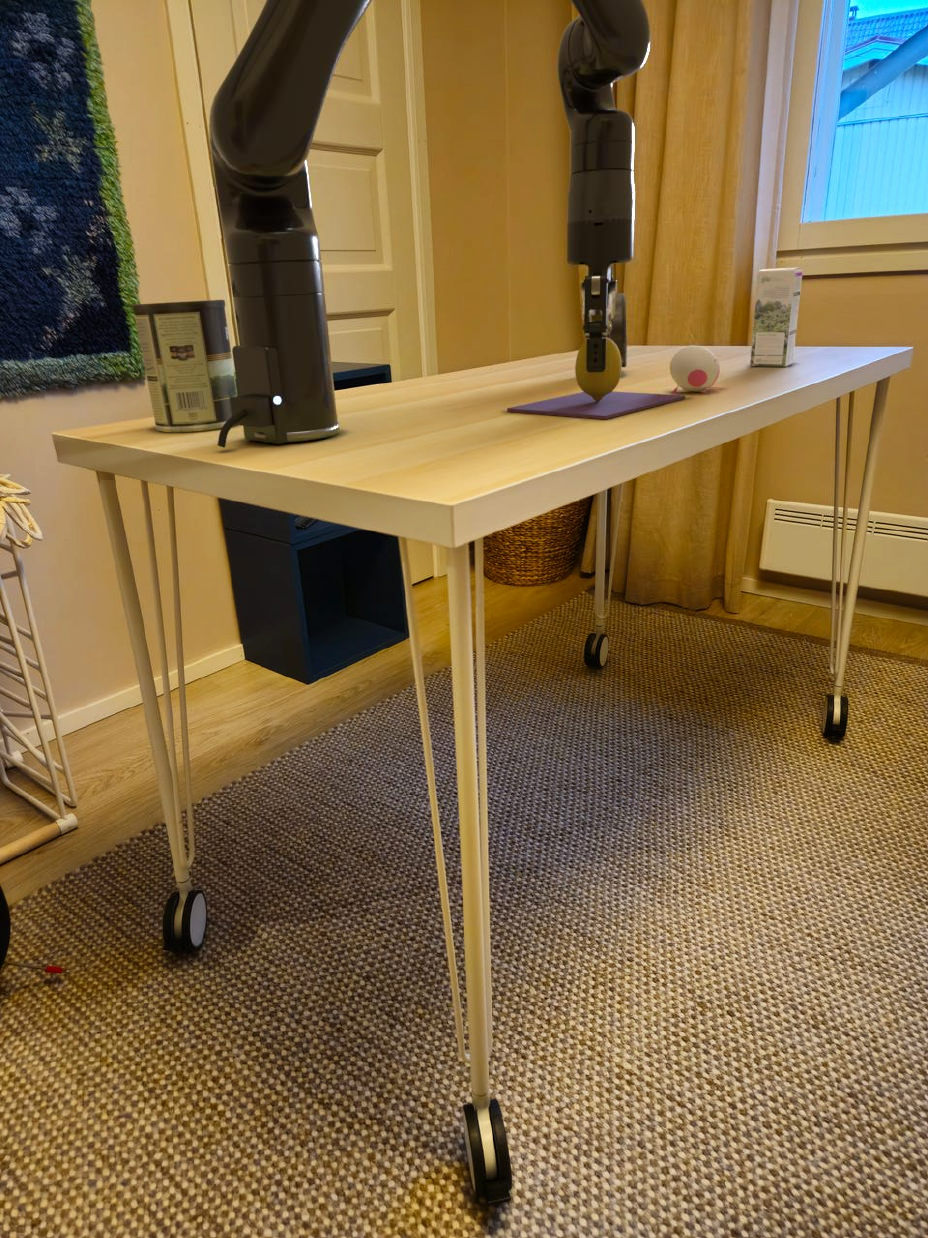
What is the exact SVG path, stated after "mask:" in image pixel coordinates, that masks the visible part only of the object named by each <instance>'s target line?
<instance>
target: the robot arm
mask: <svg viewBox="0 0 928 1238" xmlns="http://www.w3.org/2000/svg"><path fill="white" fill-rule="evenodd" d="M372 1H373V0H265V3H264V5H263V8H262V9H261V11H260V13H259V16H258V18H257V20H256V21H255V23H254V26H253V27H252V29H251V31H250V33H249V35H248V37H247V39H246V41H245V43H244V45H243V47H242V48H241V50H240V52H239V54H238V55H237V57H236V59H235V61H234V62H233V64H232V65H231V68H230V69H229V71H228V73H227V74H226V76H225V78H224V79H223V81H222V83H221V84H220V86H219V87H218V89H217V91H216V93H215V94H214V97H213V100H212V103H211V107H210V111H209V125H208V135H209V145H210V146H209V147H210V153H211V161H212V167H213V174H214V181H215V188H216V195H217V201H218V208H219V215H220V223H221V231H222V235H223V241H224V246H225V251H226V259H227V265H228V272H229V278H230V286H231V292H232V300H233V308H234V314H235V323H236V329H237V336H238V343H239V344H238V345H234V346H233V347H232V349H231V354H232V361H233V368H234V375H235V382H236V389H237V396H236V397H230V403H231V410H232V417H231V418H230V419H229V420H227V422H226V423H225V424H224V425H223V427H222V428H220V429H221V430H220V432H219V434H218V440H217V446H218V447H220V448H226V445H227V439H228V434H229V433H230V431H231V429H232V428H233V427H234V426H242V430H243V436H244V440H249V441H254V442H255V441H256V442H262V443H269V444H275V445H279V444H285V443H286V444H287V443H294V442H295V443H296V442H306V441H314V440H320V439H325V438H329V437H333V436H335V435H337V434H339V433H340V423H339V421H338V414H337V403H336V393H335V386H334V385H335V384H334V383H335V382H334V374H333V363H332V354H331V353H332V352H331V344H330V343H331V342H330V333H329V325H328V323H329V322H328V316H327V315H328V314H327V305H326V294H325V284H324V275H323V273H324V272H323V265H322V253H321V245H320V238H319V233H318V230H317V226H316V222H315V217H314V213H313V206H312V197H311V196H312V195H311V187H310V186H311V185H310V177H309V169H308V156H309V153H310V150H311V147H312V144H313V139H314V137H315V136H314V135H315V132H316V129H317V126H318V122H319V118H320V115H321V112H322V109H323V106H324V103H325V99H326V96H327V93H328V91H329V87H330V84H331V82H332V79H333V76H334V73H335V70H336V67H337V65H338V63H339V60H340V57H341V56H342V52H343V50H344V48H345V47H346V44H347V42H348V41H349V38H350V37H351V35H352V34H353V32H354V30H356V29H355V28H356V27H357V25H358V24H359V23H360V21H361V20H362V18H363V16H364V14H365V13H366V11H367V9H368V8H369V6H370V4H371V3H372ZM570 2H571V3H572V5H573V6H574V9H575V10H576V12H577V13H578V16H576V17H574V18H573V19H572V20H571V21H570V22H569V23H568V24H567V25H566V27H565V29H564V30H563V32H562V35H561V37H560V41H559V45H558V51H557V60H556V61H557V65H556V67H557V79H558V84H559V89H560V94H561V99H562V104H563V109H564V114H565V115H564V116H565V119H566V122H567V126H568V130H569V181H568V190H567V199H566V208H567V209H566V215H567V216H566V261H567V263H568V264H569V265H570V266H587V275H585V276H584V279H583V282H581V284H580V285H581V286H580V294H581V299H582V305H581V316H582V321H583V325H582V330H583V335H584V337H585V339H586V341H587V351H586V370H587V371H588V372H590V373H593V372H603V371H604V370H605V369H606V338H603V337H607V338H609V339H610V333H608V332H611V329H612V323H613V319H612V318H613V317H614V315H615V297H616V296H617V294H618V280H615V278H614V277H613V276H614V275H613V274H612V275H611V269H610V268H611V266H612V265H614V264H625V263H626V264H627V263H630V262H631V261H632V260H633V258H634V239H635V238H634V237H635V236H634V235H635V208H636V207H635V205H636V204H635V203H636V202H635V201H636V191H635V180H634V163H635V162H634V161H635V125H634V119H633V116H631V114H630V112H627V111H626V110H623V109H620V108H616V107H617V106H616V103H615V97H614V91H613V84H614V83H617V82H619V81H623V80H625V79H628V78H630V77H632V76H633V75H635V74H636V73H637V72H639V71H640V69H641V68H642V67H643V66H644V64H645V63H646V61H647V59H648V56H649V52H650V48H651V36H652V35H651V25H650V18H649V15H648V12H647V10H646V6H645V4H644V2H643V0H570Z"/></svg>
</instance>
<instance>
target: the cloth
mask: <svg viewBox="0 0 928 1238" xmlns="http://www.w3.org/2000/svg"><path fill="white" fill-rule="evenodd" d="M685 399H686V395H685V394H684V395H683V394H665V393H647V392H632V391H631V392H630V391H629V392H628V391H614V390H613V391H612V392H610V393H609V394H607V395H605V396H604V397H603V399H602V400H601V401H598V402H597V401H595V400H594V399H593V398H592V397H591V396H590V395H588V394H586V393H585V392H583V391H581V392H576V393H571V394H567V395H562V396H557V397H553V398H549V399H543V400H540V401H535V402H530V403H526V404H521V405H517V406H512V407H507V409H506V412H508V413H520V414H521V413H522V414H531V415H532V414H533V415H546V416H557V417H572V418H581V419H582V418H583V419H594V420H610V419H614V418H616V417H620V416H624V415H628V414H632V413H635V412H639V411H643V410H647V409H651V408H655V407H658V406H662V405H666V404H670V403H674V402H678V401H681V400H685Z"/></svg>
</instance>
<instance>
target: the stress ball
mask: <svg viewBox="0 0 928 1238" xmlns="http://www.w3.org/2000/svg"><path fill="white" fill-rule="evenodd" d="M669 363H670V364H669V373H670V376H671V379H672V380H673V382H674V383H675V384H676V385H677V386H676V388H674V389H673V390H672V393H673V394H676V393H677V391H678V390H677V389H678V388H679V387H680V388H681V389H683V390H685V391H687V392H695V393H696V392H703V391H706V390H707V389H718V388H721V386H717V387H716V386H713V385H715V383H716V382H717V380H718V378H719V375H720V363H719V360H718V358H717V357H716V355H715V354H714V353H713V352H712V351H711V350H709V349H708V348H706V347H705V346H701V345H687V346H684V347H682V348H680V349H678V351H676V352H675V353H674V355H673V356H672V358H671V360H670V362H669Z"/></svg>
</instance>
